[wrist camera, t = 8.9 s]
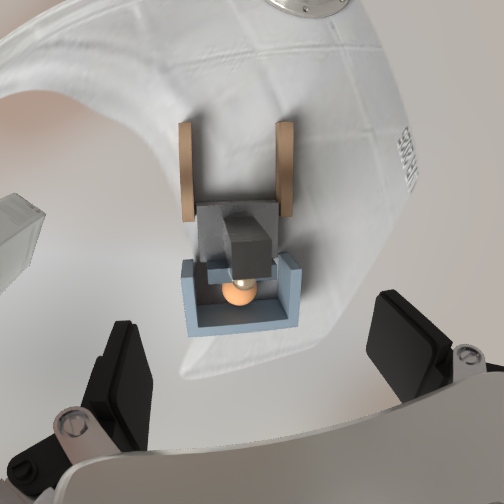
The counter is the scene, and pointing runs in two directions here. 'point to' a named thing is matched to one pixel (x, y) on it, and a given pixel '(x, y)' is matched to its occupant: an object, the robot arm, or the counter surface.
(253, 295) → the ball
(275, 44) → the counter surface
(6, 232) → the skincare box
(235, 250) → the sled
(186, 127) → the rail
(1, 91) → the counter surface
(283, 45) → the counter surface
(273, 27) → the counter surface
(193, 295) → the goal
